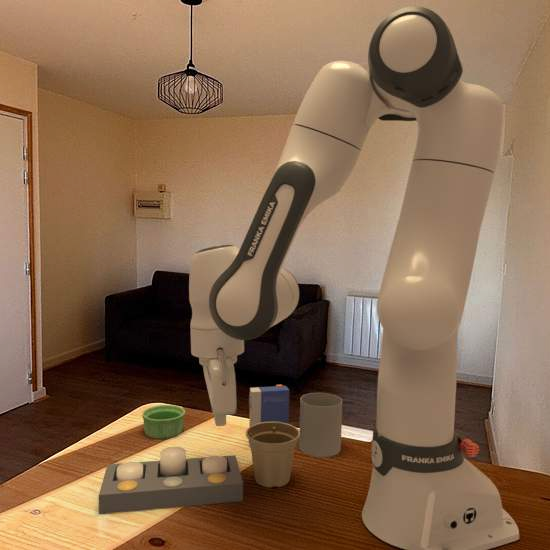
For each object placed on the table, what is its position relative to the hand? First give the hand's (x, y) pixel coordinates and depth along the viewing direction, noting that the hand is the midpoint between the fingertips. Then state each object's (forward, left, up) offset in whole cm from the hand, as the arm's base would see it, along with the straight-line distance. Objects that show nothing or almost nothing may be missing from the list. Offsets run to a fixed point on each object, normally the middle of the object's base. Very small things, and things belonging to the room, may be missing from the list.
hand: (220, 423), depth 83 cm
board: (+8, +1, -11) cm, 13 cm away
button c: (+15, -1, -10) cm, 18 cm away
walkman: (-11, -14, -11) cm, 21 cm away
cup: (-21, -11, -11) cm, 26 cm away
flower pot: (-9, 0, -11) cm, 14 cm away
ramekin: (+10, -24, -11) cm, 28 cm away
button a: (+1, -1, -10) cm, 10 cm away
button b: (+8, -1, -8) cm, 11 cm away
